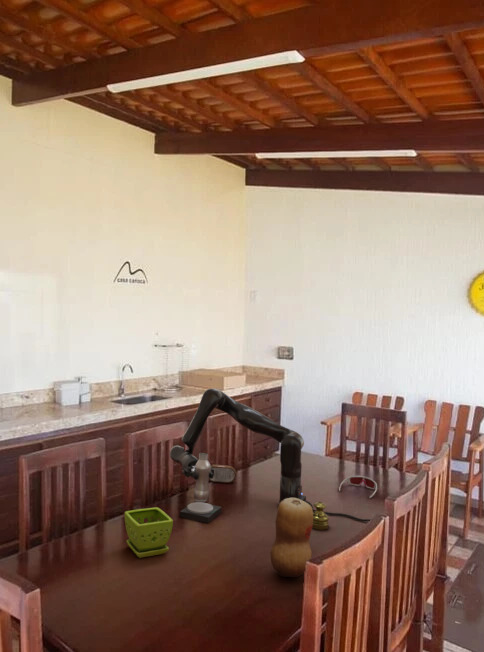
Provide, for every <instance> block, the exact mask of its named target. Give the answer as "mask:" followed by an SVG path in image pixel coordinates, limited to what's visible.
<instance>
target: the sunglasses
mask: <svg viewBox="0 0 484 652" xmlns="http://www.w3.org/2000/svg"><path fill="white" fill-rule="evenodd" d="M344 483H347V484H349V485H350V486H356V487H360V486H361V485H362V483H363V484H364V486H365V487H366V488H367V489H369V490H370V489H371V490H374V491H373V493H372V494H370V496H369V499H371V498H373V496H375V494H376V493H377V491H378V484H377V482H376V481H375V480H374V479H373V478H370V477H368V476H364V475H351V476H347V477H345V479H343V480H342V481H341V482H340V484H339V488H338V490H339V491H338V492H341V488H342V485H343V484H344Z"/></svg>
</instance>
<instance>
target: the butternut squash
mask: <svg viewBox="0 0 484 652" xmlns="http://www.w3.org/2000/svg"><path fill="white" fill-rule="evenodd" d="M313 513H314V512H313V510H312V507H311V506H310V505H309V504H308V503H306V502H305V501H302V500H300V499H297V498H286V499H284V500H283V501H281V503H280V504H279V503H278V507H277V511H276V517H275V538H274V541H273V543H272V546H271V548H270V551H269V555H270V556H269V557H270V563H271V565H272V568H273V569H274V571H275V572H276V573H277V574H278V575H279V576H281V577H285V578H287V577H288V578H298V577H300V576H303V575H305V574H304V571H305V563H306V561H307V560H309V559H311V558H313V557H312V554H313V553H312V549H311V545H310V539H311V534H312V529H313V528H312V526H313Z"/></svg>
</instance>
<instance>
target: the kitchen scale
mask: <svg viewBox="0 0 484 652" xmlns="http://www.w3.org/2000/svg"><path fill="white" fill-rule="evenodd" d="M222 510H223V506H219V505H216V504H210V503H206V502H200V501H196V500H194V501H193V502H191V503H188V505H187V506H185V507H184V508H183V509H181V510H180V511H179V517H180V518H183V519H187V520H192V521H197V522H201V523H205V524H209V523H210V522H212V521H213V520H214V519H216V518H217V517H218V516H219V515H220V514H221V513H222Z"/></svg>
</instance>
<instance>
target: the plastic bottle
mask: <svg viewBox="0 0 484 652" xmlns="http://www.w3.org/2000/svg"><path fill="white" fill-rule="evenodd" d="M208 459H209V454H208V453H206V452H199V454H198V462H197V463H196V465H195V471H196V474H197V475H198V479H197V480H195V485H194V490H193V499H194V501H196V502H202V503H205V502H207V501H208V500H209V498H210V490H209V488H210V487H209V486H210V485H209V483H210V482H209V481H210V480H209V474H210V469H211V463H210V461H209V460H208Z"/></svg>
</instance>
